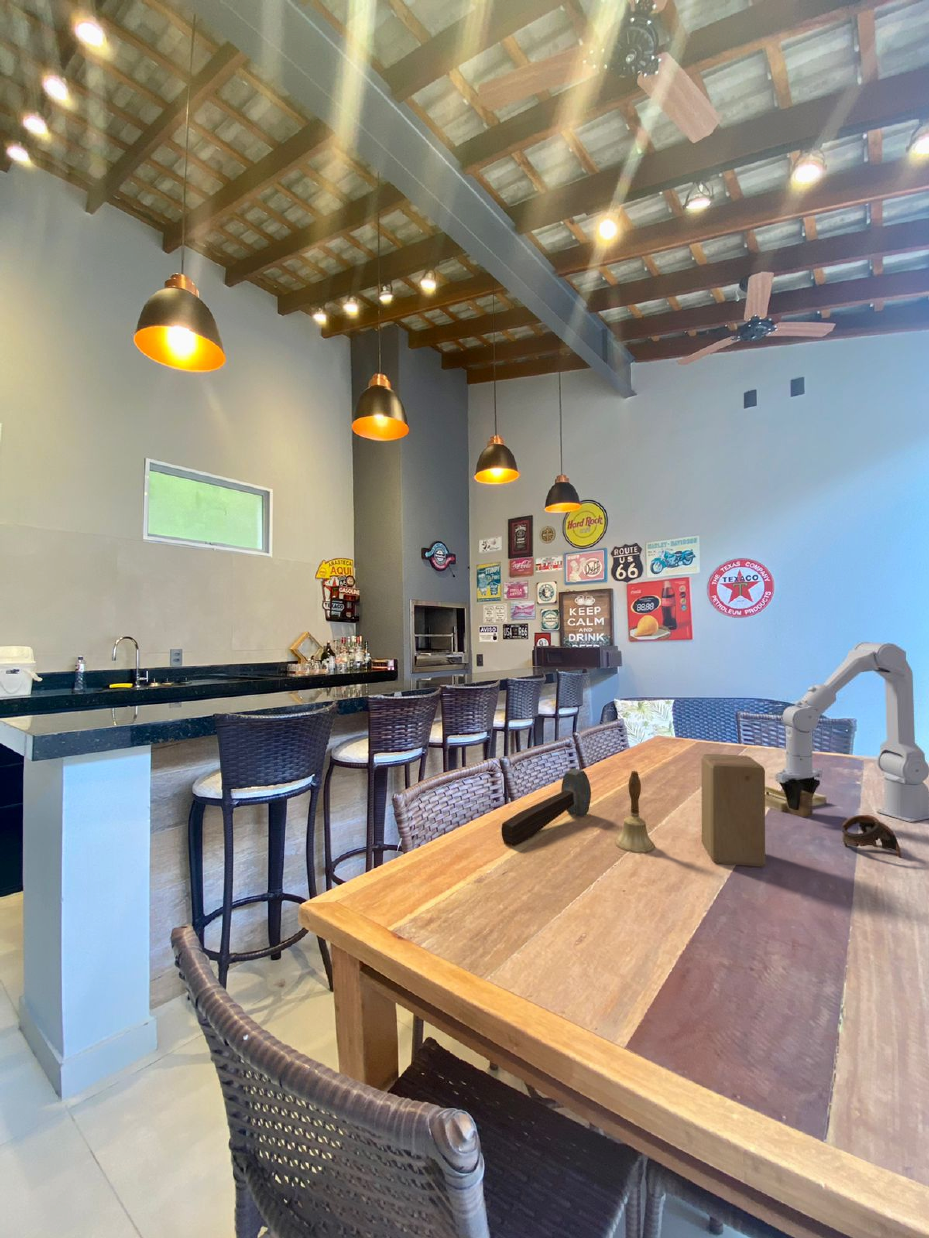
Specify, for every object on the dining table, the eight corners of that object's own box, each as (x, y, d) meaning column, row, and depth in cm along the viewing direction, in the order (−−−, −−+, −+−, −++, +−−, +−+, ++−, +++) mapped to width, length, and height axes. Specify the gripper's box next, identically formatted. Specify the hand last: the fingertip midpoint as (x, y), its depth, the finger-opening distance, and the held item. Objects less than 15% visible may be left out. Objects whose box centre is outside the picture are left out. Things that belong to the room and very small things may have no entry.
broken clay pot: (911, 867, 107) (889, 831, 107) (858, 876, 112) (838, 842, 112) (897, 832, 118) (877, 799, 118) (849, 841, 122) (830, 810, 123)
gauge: (769, 800, 146) (769, 780, 146) (812, 815, 135) (812, 793, 135) (760, 802, 145) (760, 781, 145) (802, 817, 133) (802, 795, 133)
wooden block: (766, 869, 105) (766, 766, 105) (712, 864, 107) (712, 764, 107) (750, 848, 115) (750, 754, 115) (700, 844, 117) (700, 752, 117)
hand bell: (660, 852, 112) (660, 776, 112) (621, 852, 112) (621, 776, 112) (647, 837, 121) (647, 766, 121) (610, 837, 121) (610, 766, 121)
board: (801, 795, 150) (801, 788, 150) (826, 803, 144) (826, 795, 144) (757, 803, 144) (757, 795, 144) (781, 811, 137) (781, 803, 137)
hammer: (517, 864, 115) (592, 812, 136) (513, 814, 114) (589, 769, 135) (500, 857, 118) (576, 807, 139) (496, 808, 117) (572, 765, 138)
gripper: (803, 748, 143) (803, 799, 143) (764, 753, 137) (764, 806, 137) (830, 754, 136) (830, 808, 136) (790, 759, 131) (790, 815, 131)
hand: (799, 807), depth 136 cm, fingers closed on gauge, 3 cm apart
